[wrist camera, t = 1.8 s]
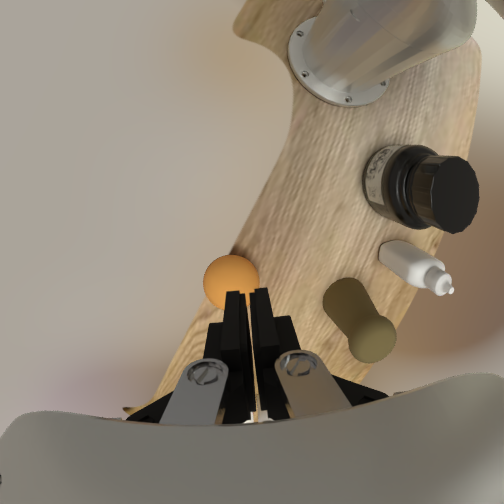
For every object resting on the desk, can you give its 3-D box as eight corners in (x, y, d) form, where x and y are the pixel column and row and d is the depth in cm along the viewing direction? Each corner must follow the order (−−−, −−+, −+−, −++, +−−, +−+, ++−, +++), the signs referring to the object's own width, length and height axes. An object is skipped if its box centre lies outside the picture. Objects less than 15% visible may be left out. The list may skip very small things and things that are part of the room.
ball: (203, 249, 31) (195, 268, 25) (256, 246, 31) (259, 264, 25) (209, 296, 33) (203, 323, 27) (259, 293, 33) (262, 319, 27)
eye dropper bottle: (399, 275, 33) (451, 319, 22) (372, 256, 32) (424, 298, 21) (416, 248, 32) (473, 283, 21) (390, 227, 31) (450, 258, 20)
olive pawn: (330, 326, 35) (358, 380, 24) (316, 290, 33) (344, 342, 23) (370, 306, 34) (407, 353, 24) (358, 269, 33) (400, 312, 22)
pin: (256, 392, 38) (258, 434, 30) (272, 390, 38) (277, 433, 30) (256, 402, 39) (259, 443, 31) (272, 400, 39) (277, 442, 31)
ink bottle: (390, 129, 27) (455, 120, 16) (431, 179, 29) (496, 192, 18) (345, 187, 29) (399, 201, 18) (390, 234, 31) (449, 267, 20)
